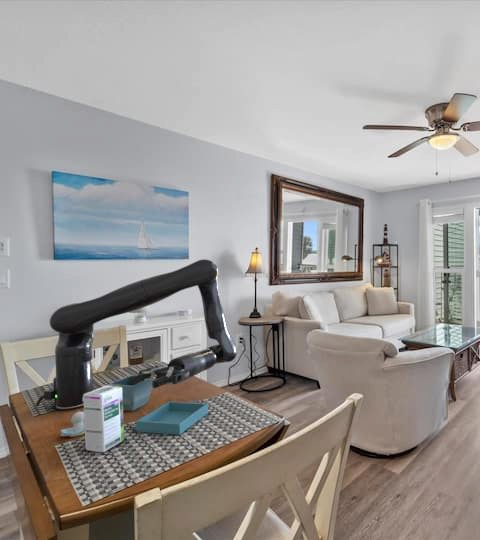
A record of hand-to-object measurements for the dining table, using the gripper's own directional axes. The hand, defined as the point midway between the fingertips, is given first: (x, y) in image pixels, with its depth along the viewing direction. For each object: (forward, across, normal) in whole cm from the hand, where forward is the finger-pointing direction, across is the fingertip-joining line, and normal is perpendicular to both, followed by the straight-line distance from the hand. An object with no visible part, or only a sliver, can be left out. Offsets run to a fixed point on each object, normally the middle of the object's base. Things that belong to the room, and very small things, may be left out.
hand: (142, 382), depth 95 cm
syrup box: (+10, 0, +13) cm, 16 cm away
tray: (-5, +6, +12) cm, 15 cm away
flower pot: (-8, -14, +13) cm, 21 cm away
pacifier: (+8, -14, +13) cm, 20 cm away
